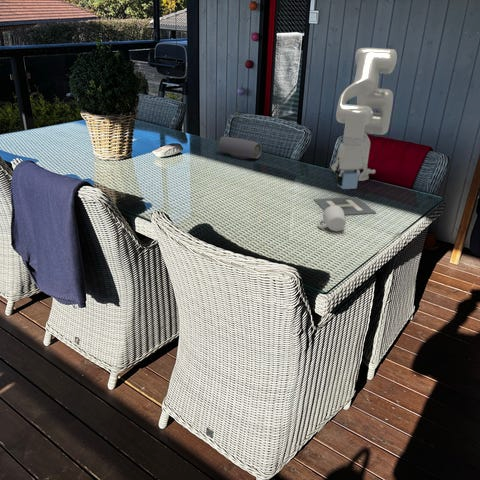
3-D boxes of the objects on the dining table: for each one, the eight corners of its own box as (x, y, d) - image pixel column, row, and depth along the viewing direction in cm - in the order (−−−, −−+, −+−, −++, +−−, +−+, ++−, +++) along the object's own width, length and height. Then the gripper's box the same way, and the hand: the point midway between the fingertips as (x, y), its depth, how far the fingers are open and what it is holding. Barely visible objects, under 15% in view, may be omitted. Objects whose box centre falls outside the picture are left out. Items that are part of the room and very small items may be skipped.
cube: (350, 183, 201) (352, 169, 198) (356, 188, 196) (358, 174, 193) (336, 184, 200) (338, 170, 197) (342, 189, 194) (344, 174, 192)
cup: (316, 223, 176) (312, 213, 183) (323, 240, 180) (320, 229, 186) (343, 211, 173) (339, 201, 180) (351, 229, 177) (346, 218, 184)
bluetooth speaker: (261, 158, 262) (262, 140, 258) (253, 162, 255) (253, 144, 251) (227, 151, 273) (227, 134, 269) (217, 155, 266) (217, 137, 262)
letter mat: (356, 197, 212) (356, 196, 211) (376, 213, 196) (376, 212, 196) (313, 200, 207) (313, 199, 207) (330, 216, 192) (330, 215, 191)
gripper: (368, 138, 195) (362, 181, 202) (328, 139, 191) (323, 182, 199) (377, 142, 188) (370, 186, 196) (336, 143, 184) (330, 188, 192)
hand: (346, 184), depth 197 cm, fingers closed on cube, 6 cm apart
